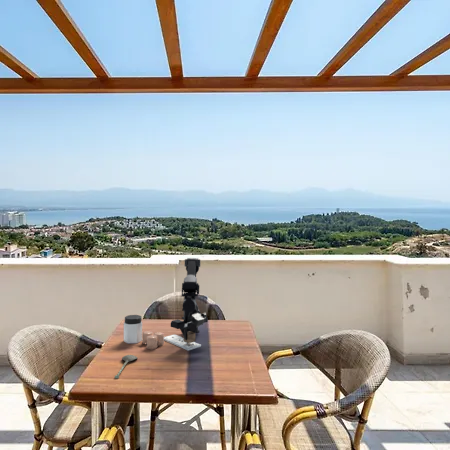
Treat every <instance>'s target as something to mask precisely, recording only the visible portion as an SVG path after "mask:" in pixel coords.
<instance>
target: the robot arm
mask: <svg viewBox="0 0 450 450" xmlns="http://www.w3.org/2000/svg"><path fill="white" fill-rule="evenodd" d="M184 267H185V270H186V276H185V277H184V278H183V282H182V284H181V297H183V302H182V309H181V311H183V316H181V319H182V320H181V319H173V320H171V322H170V327H171V328H173V329H176V330H180V331H181V334H182V335H183V338H184V339H185V340H187V332H189V331H191V332H194V333H195V334H196V333H200V330H199V329H198V328H199V327H200V326H202V325H203V324H204V323H205V324H206V323H208V322H209V321H208V316H207V313H206V312H203V313H201V311H200V309H199V306H198V304H197V298H198V297H199V295H200V284H199V282H198V278H197V274H198V273H199V270H200V268H201V259H199V257H187V258H185V259H184Z"/></svg>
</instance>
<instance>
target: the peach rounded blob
mask: <svg viewBox="0 0 450 450" xmlns="http://www.w3.org/2000/svg"><path fill="white" fill-rule="evenodd" d="M158 347H159V346H158V341H157V336H156V335H154V334H153V335H150V336H147V345H146V348H147V350H155V349H157V348H158Z"/></svg>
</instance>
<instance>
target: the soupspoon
mask: <svg viewBox="0 0 450 450" xmlns="http://www.w3.org/2000/svg"><path fill="white" fill-rule="evenodd" d="M121 359H122V360H123V361H124V363H123V365H122V367H121V368H120V370H119V371H118V373H116V375H114V379H119V378H120V375H121V373H122V372H123V370H124V368H125V367H126V365H127V364H128V362H131V361H134V360H136V359H138V357H137V355H134V354H127V355H124V356H122V358H121Z"/></svg>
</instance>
